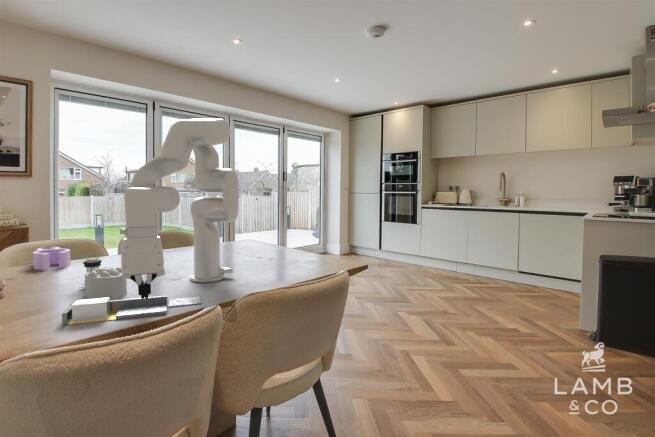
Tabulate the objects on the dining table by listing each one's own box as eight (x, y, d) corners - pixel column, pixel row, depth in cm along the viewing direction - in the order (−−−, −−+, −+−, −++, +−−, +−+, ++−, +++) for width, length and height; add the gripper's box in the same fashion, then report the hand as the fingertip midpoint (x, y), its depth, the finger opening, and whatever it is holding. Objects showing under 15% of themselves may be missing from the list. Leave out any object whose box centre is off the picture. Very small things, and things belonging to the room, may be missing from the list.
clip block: (110, 313, 95) (109, 297, 94) (107, 318, 91) (106, 302, 90) (77, 316, 92) (76, 300, 91) (72, 322, 88) (71, 305, 87)
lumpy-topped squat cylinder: (117, 288, 119) (116, 263, 118) (133, 296, 111) (132, 269, 110) (81, 295, 111) (80, 268, 110) (96, 304, 103) (95, 275, 102)
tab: (200, 297, 111) (200, 296, 111) (201, 303, 104) (201, 302, 104) (169, 300, 107) (169, 299, 107) (169, 307, 101) (169, 306, 101)
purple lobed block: (30, 264, 154) (29, 248, 153) (64, 260, 163) (64, 245, 162) (36, 272, 140) (35, 255, 139) (73, 267, 149) (73, 251, 148)
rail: (167, 305, 103) (167, 295, 102) (166, 314, 95) (166, 303, 95) (71, 314, 94) (71, 304, 93) (62, 325, 86) (61, 313, 86)
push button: (80, 291, 115) (79, 261, 114) (77, 287, 119) (76, 258, 118) (104, 287, 120) (103, 258, 119) (100, 284, 123) (99, 256, 123)
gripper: (107, 236, 89) (111, 305, 91) (171, 233, 94) (173, 298, 97) (112, 231, 96) (116, 295, 98) (172, 229, 101) (174, 290, 103)
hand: (145, 296), depth 97 cm, fingers closed
